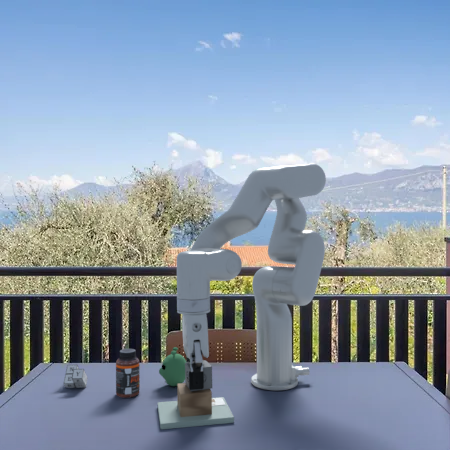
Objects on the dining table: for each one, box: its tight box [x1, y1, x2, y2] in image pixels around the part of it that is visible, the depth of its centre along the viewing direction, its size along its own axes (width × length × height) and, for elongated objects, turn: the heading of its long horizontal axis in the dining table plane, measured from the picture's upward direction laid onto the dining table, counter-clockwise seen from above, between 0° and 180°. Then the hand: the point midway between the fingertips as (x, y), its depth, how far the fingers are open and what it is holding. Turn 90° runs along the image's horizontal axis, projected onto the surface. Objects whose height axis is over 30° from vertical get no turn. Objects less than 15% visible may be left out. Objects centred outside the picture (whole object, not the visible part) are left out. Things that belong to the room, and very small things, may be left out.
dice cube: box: [184, 359, 213, 391], centre depth 109 cm, size 5×5×5 cm
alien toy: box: [158, 346, 187, 387], centre depth 128 cm, size 7×8×10 cm
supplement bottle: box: [115, 348, 141, 399], centre depth 121 cm, size 6×6×11 cm
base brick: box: [176, 382, 213, 417], centre depth 109 cm, size 7×7×5 cm
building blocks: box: [63, 364, 88, 389], centre depth 128 cm, size 5×5×8 cm
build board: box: [157, 396, 235, 430], centre depth 109 cm, size 16×12×1 cm
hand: (194, 383), depth 109 cm, fingers closed on dice cube, 5 cm apart
